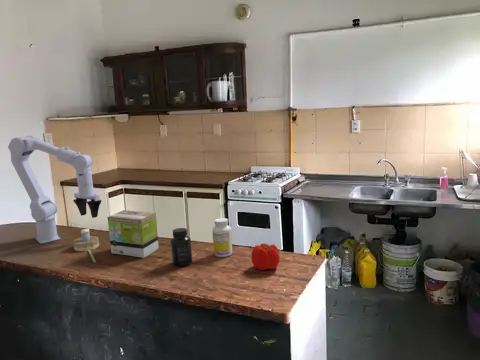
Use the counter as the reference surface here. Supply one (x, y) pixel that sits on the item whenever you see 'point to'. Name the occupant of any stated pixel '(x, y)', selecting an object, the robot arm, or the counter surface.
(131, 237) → the tea box
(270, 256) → the red bell pepper
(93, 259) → the strip
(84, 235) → the white-tipped blue cylinder
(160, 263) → the counter surface
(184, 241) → the supplement bottle
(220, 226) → the supplement bottle
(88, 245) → the bead
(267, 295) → the counter surface
